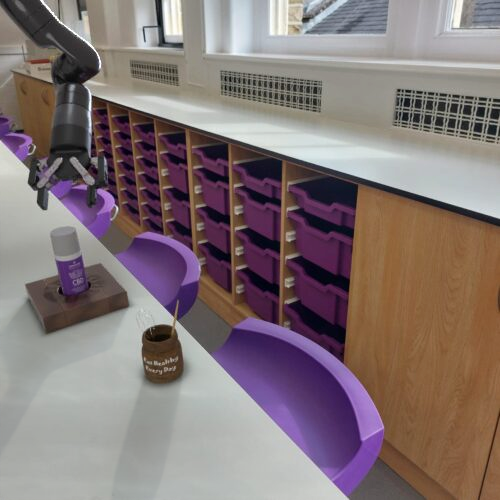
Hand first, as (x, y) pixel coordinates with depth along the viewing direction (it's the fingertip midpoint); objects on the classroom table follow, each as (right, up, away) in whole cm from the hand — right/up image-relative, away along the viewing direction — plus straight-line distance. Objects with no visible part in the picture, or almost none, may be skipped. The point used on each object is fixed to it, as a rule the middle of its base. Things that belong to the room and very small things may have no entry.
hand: (66, 207), depth 90 cm
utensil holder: (+21, -27, -17) cm, 38 cm away
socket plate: (+1, -18, +3) cm, 18 cm away
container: (+1, -18, +3) cm, 19 cm away
